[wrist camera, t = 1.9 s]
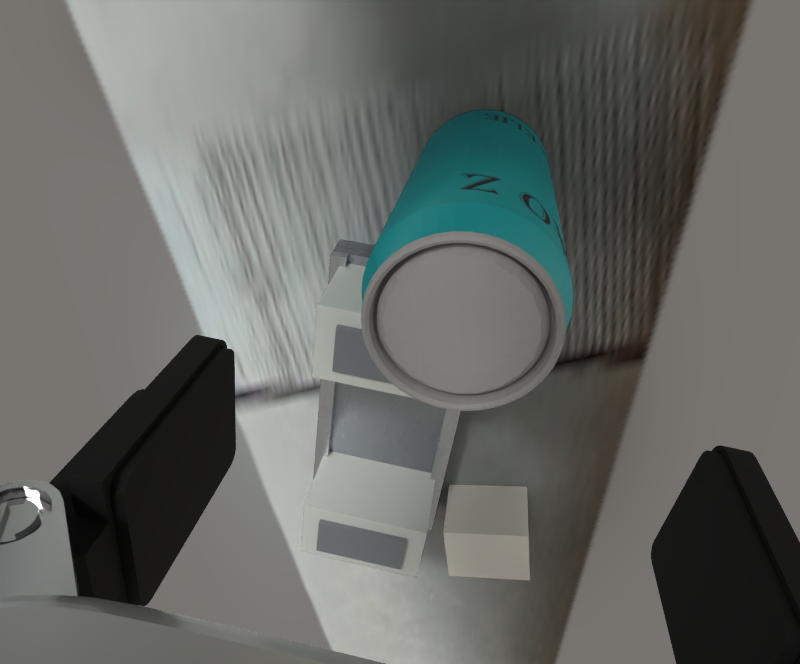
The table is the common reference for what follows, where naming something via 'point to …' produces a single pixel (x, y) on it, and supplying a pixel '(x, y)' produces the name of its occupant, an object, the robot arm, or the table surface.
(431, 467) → the rail
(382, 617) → the table surface
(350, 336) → the module
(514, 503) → the block
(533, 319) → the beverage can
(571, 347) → the table surface
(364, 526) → the block
